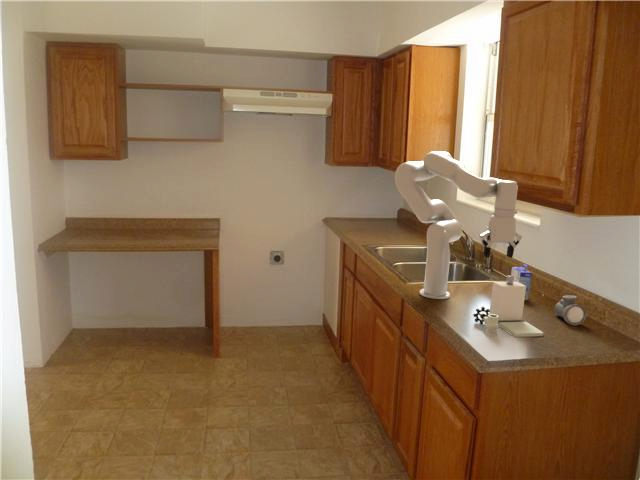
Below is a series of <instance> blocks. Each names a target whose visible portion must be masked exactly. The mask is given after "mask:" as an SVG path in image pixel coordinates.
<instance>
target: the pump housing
mask: <svg viewBox="0 0 640 480" xmlns="http://www.w3.org/2000/svg"><path fill="white" fill-rule="evenodd" d="M513 280H514V276H511V274H509V275H507V276H506V281H493V282H492V289H491V296H490V297H491V298H490V306H489V310H490V312H488V313H489V314H494V315H497V316H498V317H499V321H498V324H499V322H525V320H524V319H523V312H524V305H525V300H524V299H525V292H526V286H525V285H523V284H521V283H519V282H513Z"/></svg>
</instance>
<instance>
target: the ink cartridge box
mask: <svg viewBox="0 0 640 480" xmlns="http://www.w3.org/2000/svg"><path fill="white" fill-rule="evenodd" d="M528 266H529V265H527V264H526V263H523V265H521V266H519V267H518V266H512V267H511V273H510V275H511V276H514V280H513V282H519V283H521V284H523V285H525V286H526V292H525V299H524V301H529V294H530V289H531V281H532V276H533V272H531V271H529V270H527V268H528Z"/></svg>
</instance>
